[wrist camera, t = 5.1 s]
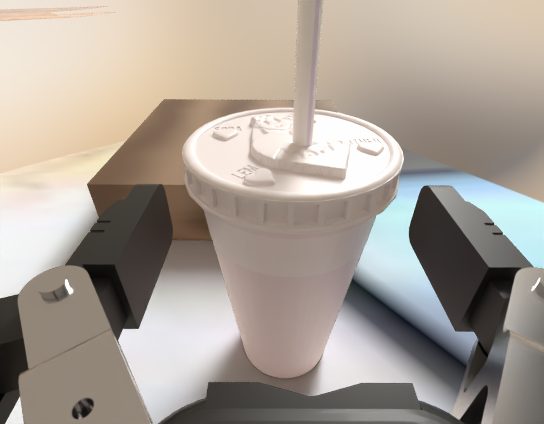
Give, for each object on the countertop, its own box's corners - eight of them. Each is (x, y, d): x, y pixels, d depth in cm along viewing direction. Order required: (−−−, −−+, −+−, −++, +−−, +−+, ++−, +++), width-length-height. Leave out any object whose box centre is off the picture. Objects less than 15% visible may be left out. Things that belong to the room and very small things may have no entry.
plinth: (327, 139, 34) (331, 100, 32) (360, 240, 21) (371, 185, 19) (171, 138, 34) (163, 99, 32) (106, 239, 21) (86, 184, 19)
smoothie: (252, 448, 12) (212, -72, 4) (193, 316, 16) (119, -45, 8) (386, 364, 14) (535, -50, 6) (303, 270, 19) (328, -39, 11)
